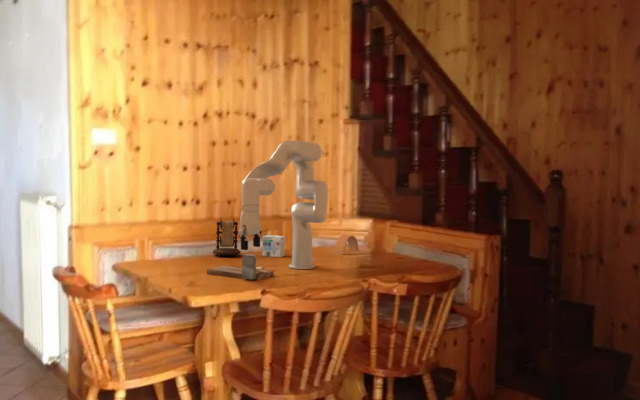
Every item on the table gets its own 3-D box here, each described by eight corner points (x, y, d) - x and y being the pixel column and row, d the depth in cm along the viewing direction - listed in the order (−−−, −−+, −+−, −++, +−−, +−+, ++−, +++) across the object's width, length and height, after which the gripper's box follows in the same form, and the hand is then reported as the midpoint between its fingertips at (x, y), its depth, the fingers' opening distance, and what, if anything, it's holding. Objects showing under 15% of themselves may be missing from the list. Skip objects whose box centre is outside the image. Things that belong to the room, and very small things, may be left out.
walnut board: (224, 269, 309) (224, 265, 309) (273, 275, 298) (273, 270, 297) (207, 274, 296) (207, 269, 296) (257, 280, 285) (257, 275, 285)
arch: (333, 254, 371) (334, 236, 370) (349, 250, 388) (350, 233, 388) (343, 255, 368) (343, 237, 367) (358, 251, 386) (359, 234, 385)
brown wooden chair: (214, 258, 344) (214, 219, 342) (211, 253, 358) (211, 216, 357) (242, 257, 348) (243, 219, 346) (238, 253, 362) (239, 216, 360)
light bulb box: (261, 256, 356) (262, 235, 355) (266, 254, 362) (267, 234, 361) (280, 257, 353) (281, 237, 352) (285, 255, 359) (285, 235, 358)
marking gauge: (257, 274, 295) (257, 251, 295) (266, 275, 293) (267, 252, 293) (242, 278, 284) (242, 254, 284) (252, 279, 282) (252, 256, 282)
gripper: (253, 206, 292) (253, 244, 294) (231, 209, 277) (231, 250, 278) (268, 207, 289) (268, 246, 291) (247, 210, 274) (247, 252, 275)
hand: (250, 248), depth 285 cm, fingers open, 9 cm apart
